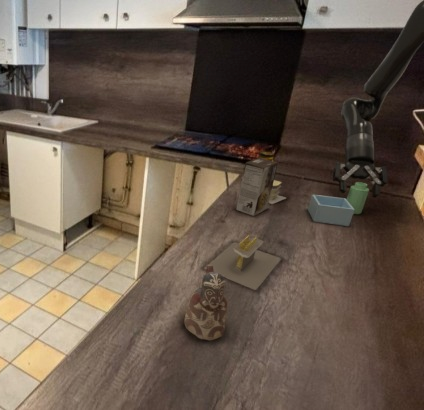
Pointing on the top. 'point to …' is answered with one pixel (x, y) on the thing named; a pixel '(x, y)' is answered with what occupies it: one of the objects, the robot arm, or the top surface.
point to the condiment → (266, 155)
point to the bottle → (357, 196)
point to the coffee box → (256, 186)
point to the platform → (245, 263)
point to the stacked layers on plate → (275, 193)
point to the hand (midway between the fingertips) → (359, 194)
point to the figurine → (207, 307)
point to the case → (330, 210)
